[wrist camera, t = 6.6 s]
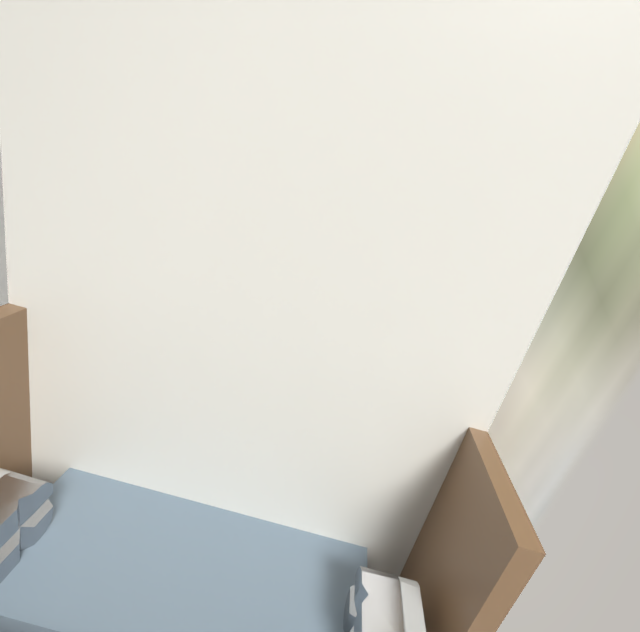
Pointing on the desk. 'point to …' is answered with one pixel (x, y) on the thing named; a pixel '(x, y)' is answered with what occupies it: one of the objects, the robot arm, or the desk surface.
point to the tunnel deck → (302, 256)
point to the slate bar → (172, 567)
